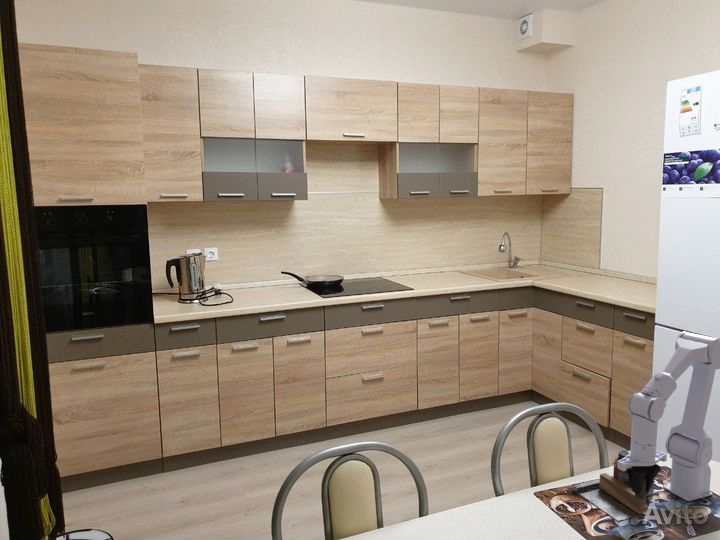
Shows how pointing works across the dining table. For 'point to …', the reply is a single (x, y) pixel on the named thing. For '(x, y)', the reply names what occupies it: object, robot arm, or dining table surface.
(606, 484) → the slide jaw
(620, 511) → the vice frame
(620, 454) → the supplement bottle
